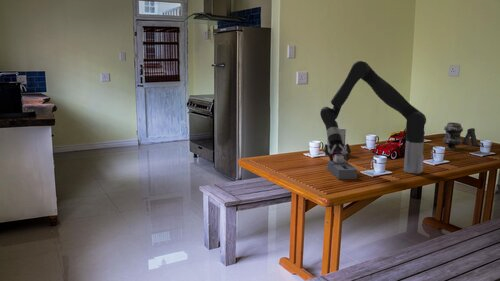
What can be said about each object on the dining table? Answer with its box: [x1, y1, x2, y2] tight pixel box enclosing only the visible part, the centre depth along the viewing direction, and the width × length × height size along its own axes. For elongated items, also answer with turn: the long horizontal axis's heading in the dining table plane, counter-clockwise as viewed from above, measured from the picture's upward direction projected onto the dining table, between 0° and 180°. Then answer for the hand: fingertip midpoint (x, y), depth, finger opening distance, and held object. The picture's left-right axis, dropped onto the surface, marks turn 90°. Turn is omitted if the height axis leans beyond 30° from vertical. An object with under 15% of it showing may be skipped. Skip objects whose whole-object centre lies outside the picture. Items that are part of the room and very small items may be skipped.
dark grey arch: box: [461, 127, 479, 147], centre depth 305 cm, size 9×6×12 cm, turn 40°
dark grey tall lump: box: [442, 121, 464, 151], centre depth 291 cm, size 12×12×18 cm
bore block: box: [326, 159, 358, 180], centre depth 229 cm, size 10×20×5 cm, turn 7°
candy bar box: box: [326, 127, 347, 155], centre depth 278 cm, size 11×5×16 cm, turn 105°
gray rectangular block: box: [333, 154, 345, 164], centre depth 234 cm, size 4×4×9 cm
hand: (339, 160), depth 232 cm, fingers open, 8 cm apart
